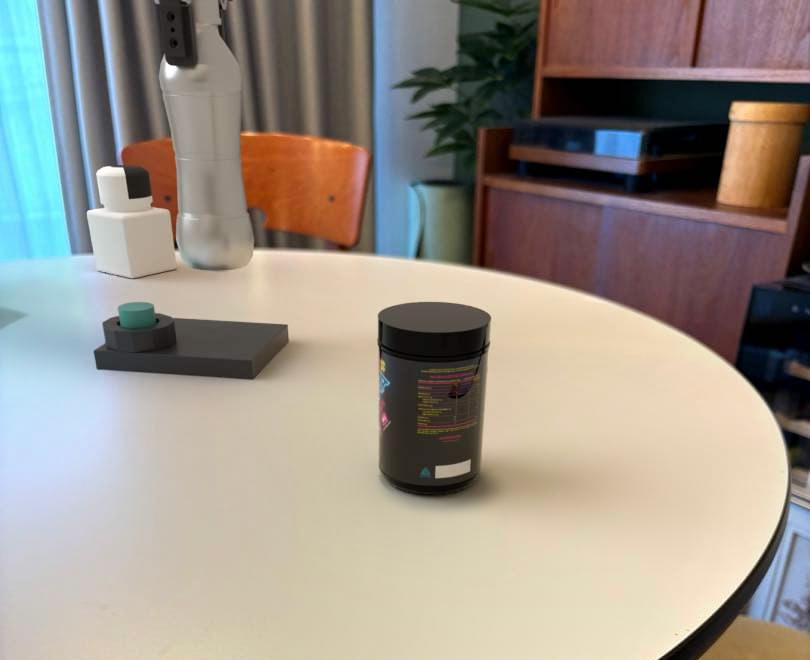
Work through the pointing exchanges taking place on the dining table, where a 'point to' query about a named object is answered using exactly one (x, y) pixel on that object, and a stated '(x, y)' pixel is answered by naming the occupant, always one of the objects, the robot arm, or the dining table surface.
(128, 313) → the button
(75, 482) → the dining table surface
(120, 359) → the dark grey button base
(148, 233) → the medicine bottle
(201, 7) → the silver bottle
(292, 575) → the dining table surface
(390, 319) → the supplement container
